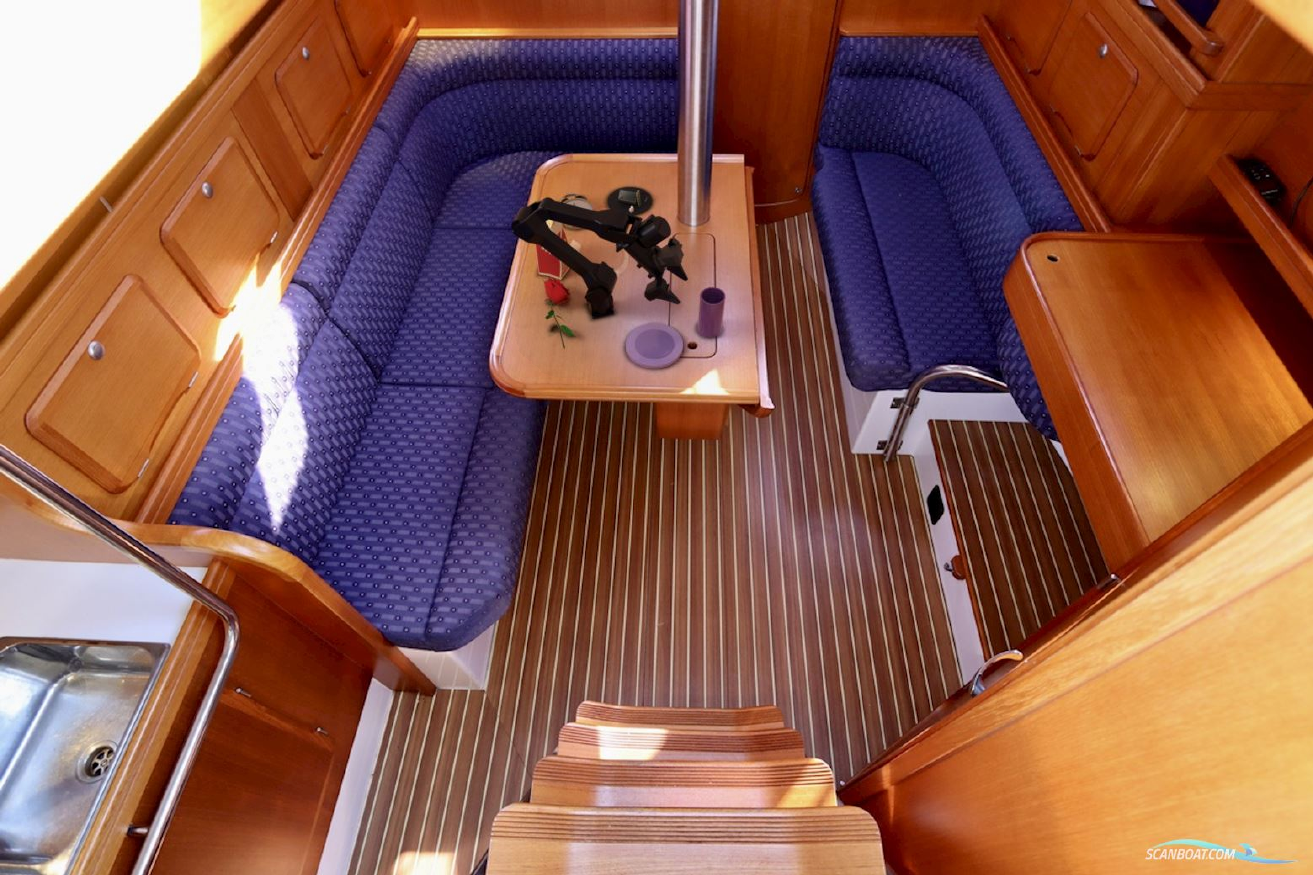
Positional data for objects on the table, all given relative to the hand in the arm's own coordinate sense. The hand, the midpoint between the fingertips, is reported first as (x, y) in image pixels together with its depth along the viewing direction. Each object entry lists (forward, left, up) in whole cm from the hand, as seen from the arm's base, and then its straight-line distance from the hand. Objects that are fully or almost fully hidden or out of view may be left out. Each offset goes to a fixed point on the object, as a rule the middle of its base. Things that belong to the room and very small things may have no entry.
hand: (683, 291), depth 176 cm
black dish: (+4, +58, -13) cm, 60 cm away
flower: (-32, +13, -13) cm, 37 cm away
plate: (-10, -6, -13) cm, 17 cm away
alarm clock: (-15, +57, -13) cm, 61 cm away
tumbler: (+7, -5, -13) cm, 15 cm away
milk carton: (-28, +35, -13) cm, 47 cm away
